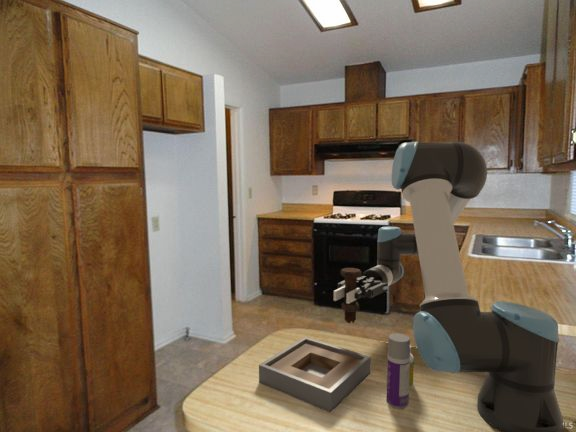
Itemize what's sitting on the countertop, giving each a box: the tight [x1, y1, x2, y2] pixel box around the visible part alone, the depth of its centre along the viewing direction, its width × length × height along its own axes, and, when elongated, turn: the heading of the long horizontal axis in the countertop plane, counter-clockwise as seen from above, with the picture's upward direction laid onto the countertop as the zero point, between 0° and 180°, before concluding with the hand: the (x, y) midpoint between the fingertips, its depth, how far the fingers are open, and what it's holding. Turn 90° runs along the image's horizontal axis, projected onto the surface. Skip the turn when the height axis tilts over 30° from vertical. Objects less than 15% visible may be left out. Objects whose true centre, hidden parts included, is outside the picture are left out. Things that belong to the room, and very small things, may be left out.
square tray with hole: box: [270, 343, 361, 389], centre depth 94 cm, size 18×18×3 cm
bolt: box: [340, 267, 362, 324], centre depth 107 cm, size 6×5×15 cm
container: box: [385, 332, 411, 410], centre depth 83 cm, size 5×5×15 cm
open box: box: [258, 336, 372, 413], centre depth 94 cm, size 20×20×4 cm
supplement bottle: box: [409, 344, 415, 389], centre depth 91 cm, size 5×5×10 cm
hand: (341, 297), depth 103 cm, fingers closed on bolt, 3 cm apart
